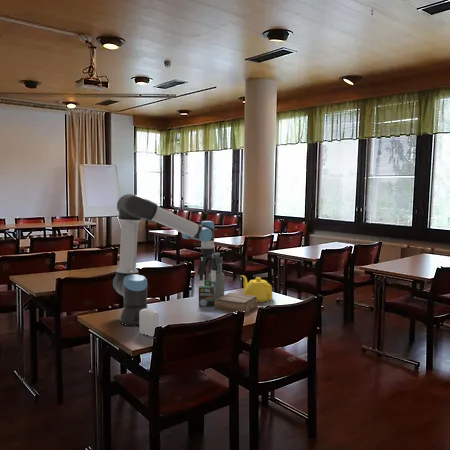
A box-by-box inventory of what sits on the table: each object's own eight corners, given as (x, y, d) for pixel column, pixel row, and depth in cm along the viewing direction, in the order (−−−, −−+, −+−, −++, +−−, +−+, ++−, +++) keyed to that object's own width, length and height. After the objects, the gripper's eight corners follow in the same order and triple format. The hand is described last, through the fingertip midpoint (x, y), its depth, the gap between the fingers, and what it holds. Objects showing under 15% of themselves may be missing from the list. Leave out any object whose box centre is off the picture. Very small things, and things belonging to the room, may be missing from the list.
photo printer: (137, 333, 215) (137, 308, 214) (144, 331, 219) (144, 306, 218) (153, 338, 209) (153, 311, 208) (160, 336, 213) (160, 309, 212)
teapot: (232, 297, 287) (232, 276, 286) (251, 293, 300) (251, 272, 298) (262, 305, 270) (263, 282, 268) (281, 300, 282) (281, 278, 281)
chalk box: (215, 302, 274) (216, 278, 272) (214, 307, 265) (214, 281, 263) (200, 302, 275) (200, 278, 273) (198, 306, 266) (198, 281, 264)
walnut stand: (244, 313, 251) (244, 303, 251) (215, 309, 259) (215, 298, 259) (256, 306, 267) (257, 296, 267) (229, 302, 275) (229, 292, 275)
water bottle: (222, 300, 280) (222, 254, 278) (206, 299, 282) (207, 254, 280) (225, 296, 290) (226, 252, 288) (210, 295, 292) (211, 251, 290)
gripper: (202, 250, 254) (202, 288, 256) (223, 245, 276) (223, 280, 278) (191, 250, 257) (191, 287, 259) (212, 244, 279) (212, 278, 282)
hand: (207, 283), depth 269 cm, fingers open, 13 cm apart
